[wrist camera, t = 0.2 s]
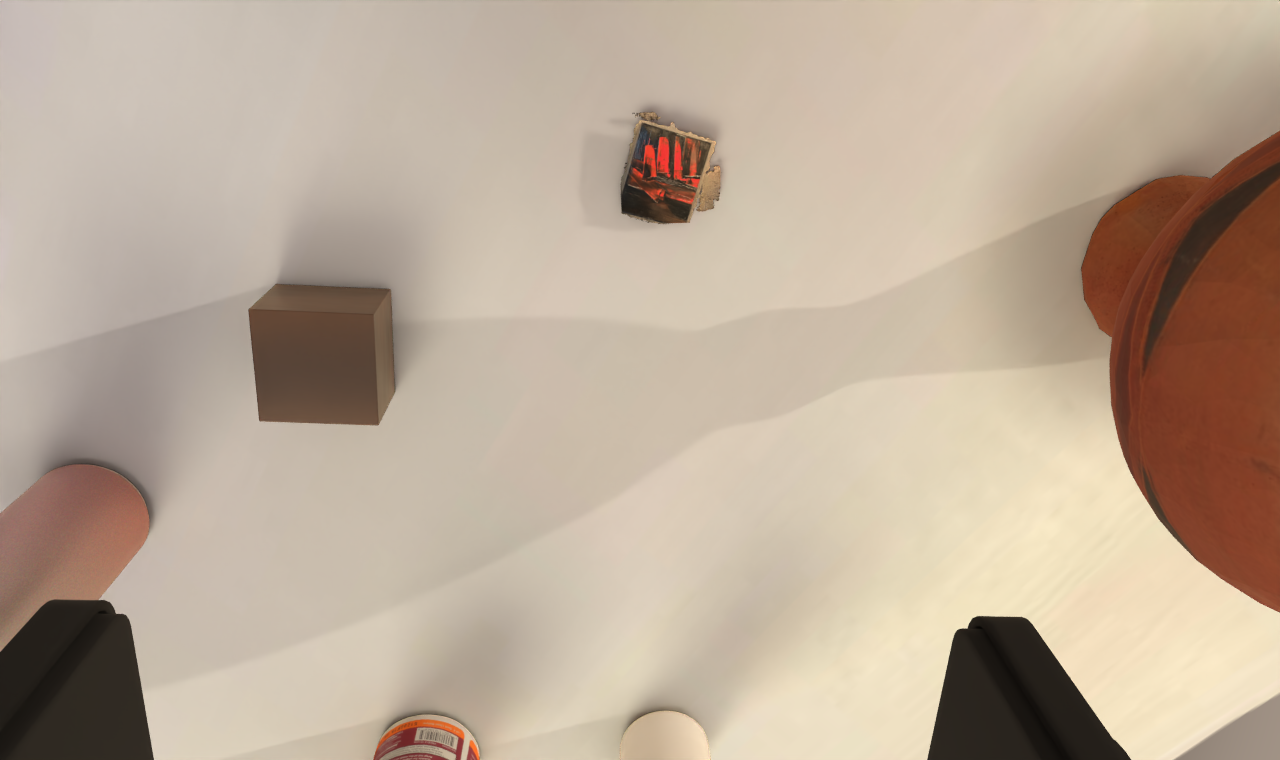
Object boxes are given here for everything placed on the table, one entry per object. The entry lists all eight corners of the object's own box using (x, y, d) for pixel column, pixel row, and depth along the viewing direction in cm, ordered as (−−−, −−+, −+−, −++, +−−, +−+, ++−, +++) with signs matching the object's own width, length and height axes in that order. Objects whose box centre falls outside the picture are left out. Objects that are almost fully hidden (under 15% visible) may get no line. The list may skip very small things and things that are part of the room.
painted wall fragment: (620, 222, 46) (620, 225, 45) (621, 111, 44) (622, 112, 43) (717, 223, 46) (718, 225, 45) (723, 113, 44) (724, 114, 43)
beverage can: (112, 577, 52) (-65, 790, 38) (13, 509, 50) (-210, 708, 36) (178, 507, 50) (20, 702, 36) (79, 436, 49) (-126, 612, 35)
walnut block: (275, 283, 46) (247, 309, 42) (390, 288, 46) (373, 314, 43) (284, 388, 48) (258, 421, 44) (395, 392, 48) (378, 425, 45)
